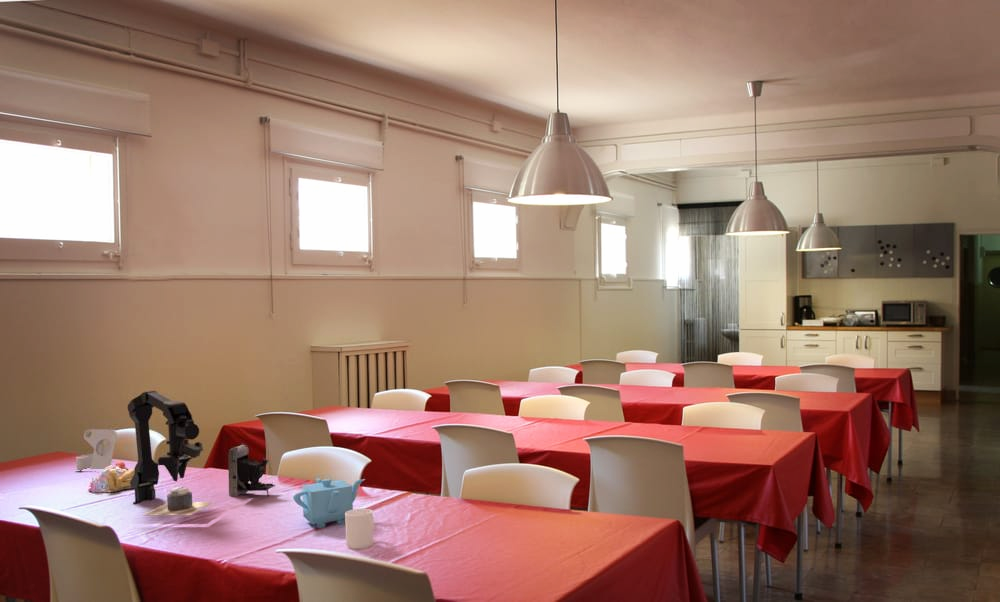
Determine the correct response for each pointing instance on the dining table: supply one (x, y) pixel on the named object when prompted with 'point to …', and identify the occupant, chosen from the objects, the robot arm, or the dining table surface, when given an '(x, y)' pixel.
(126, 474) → the candy landscape model
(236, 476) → the vintage camera
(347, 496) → the teakettle
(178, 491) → the beige mottled stone
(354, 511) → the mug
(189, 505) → the ring
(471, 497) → the dining table surface
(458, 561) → the dining table surface
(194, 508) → the mount board
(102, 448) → the phone holder
